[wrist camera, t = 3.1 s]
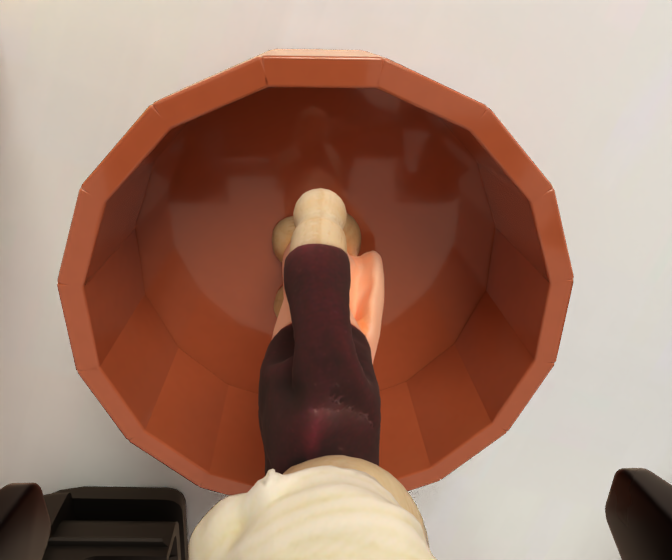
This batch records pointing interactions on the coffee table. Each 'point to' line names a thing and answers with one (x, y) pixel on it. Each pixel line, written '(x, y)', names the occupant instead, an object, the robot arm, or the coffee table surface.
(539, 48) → the coffee table surface
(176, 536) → the end cap
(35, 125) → the coffee table surface
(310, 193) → the grandmother figurine
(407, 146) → the desk pot
